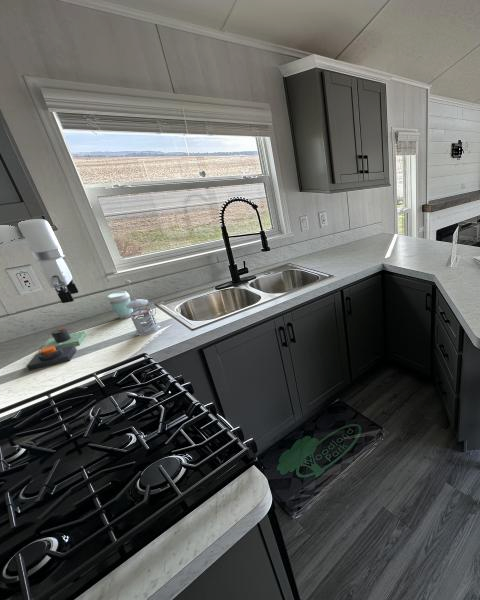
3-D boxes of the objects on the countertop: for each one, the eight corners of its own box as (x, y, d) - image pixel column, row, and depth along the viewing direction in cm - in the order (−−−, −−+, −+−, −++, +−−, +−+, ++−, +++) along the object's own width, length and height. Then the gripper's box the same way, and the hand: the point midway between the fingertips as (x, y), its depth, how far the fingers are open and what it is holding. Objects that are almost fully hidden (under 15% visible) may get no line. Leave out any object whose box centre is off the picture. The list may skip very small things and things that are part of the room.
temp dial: (54, 343, 138) (48, 334, 136) (58, 338, 142) (52, 329, 140) (68, 340, 140) (63, 330, 138) (72, 335, 144) (67, 326, 142)
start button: (41, 356, 127) (38, 352, 126) (45, 351, 130) (42, 347, 129) (54, 353, 129) (52, 349, 128) (58, 348, 132) (56, 344, 131)
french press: (129, 335, 147) (106, 283, 136) (151, 322, 157) (131, 274, 147) (147, 336, 145) (126, 284, 135) (168, 323, 156) (150, 274, 145)
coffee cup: (140, 313, 166) (131, 292, 161) (122, 321, 159) (112, 299, 154) (131, 310, 170) (122, 289, 165) (112, 318, 163) (102, 296, 158)
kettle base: (29, 370, 125) (23, 362, 123) (38, 358, 132) (33, 350, 130) (70, 360, 130) (65, 352, 128) (76, 350, 137) (72, 341, 135)
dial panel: (42, 353, 136) (40, 349, 135) (51, 342, 143) (49, 338, 143) (80, 345, 141) (77, 340, 140) (86, 334, 149) (84, 330, 148)
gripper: (41, 251, 122) (62, 292, 129) (27, 262, 109) (52, 308, 116) (67, 247, 126) (87, 288, 133) (57, 258, 113) (79, 302, 120)
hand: (70, 297), depth 125 cm, fingers open, 9 cm apart
